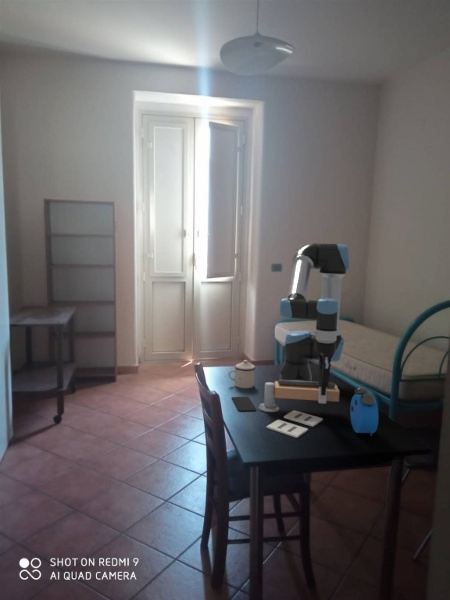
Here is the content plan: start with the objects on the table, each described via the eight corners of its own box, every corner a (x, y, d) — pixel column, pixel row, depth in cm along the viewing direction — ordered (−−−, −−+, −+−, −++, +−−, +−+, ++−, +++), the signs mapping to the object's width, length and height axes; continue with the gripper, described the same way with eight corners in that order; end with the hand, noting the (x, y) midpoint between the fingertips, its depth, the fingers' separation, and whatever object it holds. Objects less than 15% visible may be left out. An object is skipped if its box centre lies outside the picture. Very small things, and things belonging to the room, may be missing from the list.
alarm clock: (377, 440, 150) (380, 397, 148) (358, 439, 150) (362, 397, 148) (365, 424, 163) (368, 384, 161) (348, 423, 163) (351, 384, 161)
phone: (248, 396, 187) (257, 409, 172) (248, 398, 187) (257, 411, 172) (231, 397, 185) (238, 410, 171) (231, 398, 185) (238, 412, 171)
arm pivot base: (265, 403, 181) (265, 401, 180) (282, 408, 176) (282, 406, 176) (254, 408, 174) (254, 406, 174) (272, 414, 169) (272, 412, 169)
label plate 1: (278, 421, 163) (278, 419, 163) (307, 430, 156) (307, 428, 156) (266, 427, 157) (266, 426, 157) (296, 438, 150) (296, 436, 150)
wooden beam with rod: (263, 409, 171) (265, 382, 170) (263, 401, 179) (265, 375, 177) (337, 414, 169) (339, 386, 167) (334, 406, 177) (336, 379, 175)
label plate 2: (294, 411, 173) (294, 409, 173) (322, 420, 166) (322, 418, 165) (283, 417, 166) (283, 415, 166) (312, 426, 159) (313, 424, 159)
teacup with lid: (252, 382, 206) (253, 357, 205) (256, 388, 197) (257, 363, 196) (226, 382, 205) (227, 357, 203) (229, 389, 196) (230, 363, 194)
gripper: (313, 336, 170) (309, 396, 173) (317, 344, 158) (314, 408, 161) (332, 337, 170) (329, 397, 173) (339, 345, 157) (335, 409, 160)
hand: (322, 402), depth 167 cm, fingers closed
